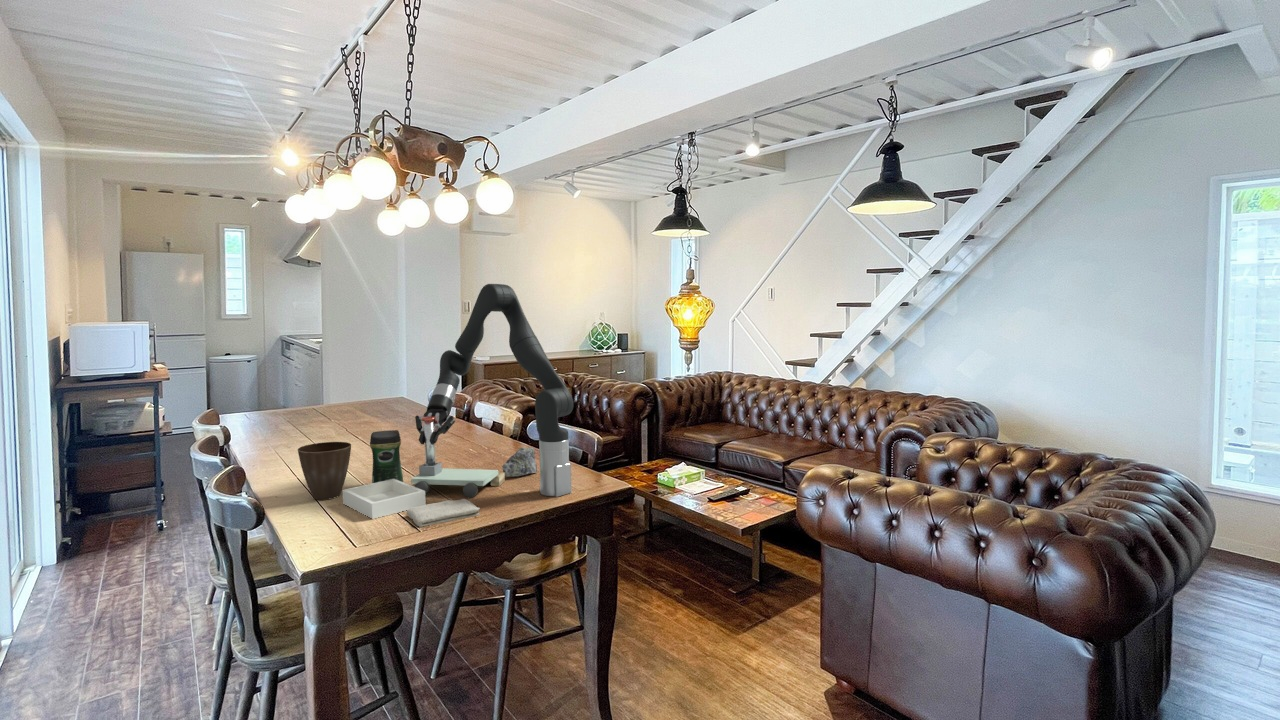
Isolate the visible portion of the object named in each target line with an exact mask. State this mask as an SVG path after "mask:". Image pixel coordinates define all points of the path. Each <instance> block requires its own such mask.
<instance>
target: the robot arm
mask: <svg viewBox="0 0 1280 720" xmlns="http://www.w3.org/2000/svg"><path fill="white" fill-rule="evenodd" d="M492 312H496V313H497V312H501V313H502V314H503V315H504V317H505V319H506V321H507V322H508V325H509V337H508V339H509V340H508V342H509V343H508V344H509V348H510V351H511V352H512V354H513V356H514V358H515V361H516V362H517V363H518V364H519V366H520V367H521V368H522V369H523V370H525V371H526V372H527V373H528V374H530V375H531V376H532V377H534V378H535V379H536V381H538V382H539V383H540V385H541V386H542V387H543V389H544V390H543V389H542V390H541V391H539V392H538V393H537V395H536V397H535V400H534V401H535V402H534V411H535V423H536V424H535V428H536V432H537V434H538V440H539V441H538V446H539V451H538V453H539V487H540V488H539V490H540V491H539V493H540V494H541V495H542V496H545V497H555V498H557V497H558V498H559V497H561V496H564V495H568V494H572V464H571V463H570V456H569V455H570V454H569V452H570V451H569V447H570V446H569V445H570V443H569V430H568V429H567V428H564V427H561V426H560V425H559V418H561V417H566V416H568V415H570V414H571V413H572V412H573V410H574V399H573V396H572V394H571V392H570V391H569V389H568V387H567V386H566V384H565V383H564V382H563V380H562V379H561V378H560V376H559V374H558V373H557V372H556V370H555V369H554V366H553V365H552V363H551V361H550V359H549V357H548V356H547V354H546V352H545V350H544V348H543V347H542V345H541V343H540V341H539V339H538V337H537V335H536V334H535V332H534V331H533V328H532V327H531V324H530V323H529V321H528V319H527V317H526V315H525V313H524V309H523V308H522V306H521V303H520V300H519V298H518V296H517V294H516V292H515V290H514V289H513V287H511V286H510V285H508V284H503V283H502V284H501V283H487V284H485V285H483V286H482V288H481V289H480V291H479V293H478V295H477V298H476V300H475V304H474V305H473V309H472V311H471V314H470V317H469V319H468V322H467V324H466V326H465V327H464V329H463V331H462V332H461V334H460V336H459V337H458V339H457V340H456V343H455V345H454V347H455V351H453V350H452V349H448V350H445V351H444V352H443V353H442V354H441V357H440V359H439V377H438V380H437V382H436V385H435V387H434V389H433V391H432V393H431V396H430V399H429V402H428V404H427V407H426V411H425V412H424V413H423V415H415V419H414V420H415V426H416V427H415V428H416V430H417V432H418V433H419V434H420V435H419V437H418V441H419V444H420V445H425V436H424V425H423V424H424V421H422V420H421V418H422V417H426V416H435V417H436V420H434V432H433V433H432V436H431V439H430V443H431V444H432V445H434V444H435V445H436V443H437V441H438V439H439V436H440V435H441V434H443V435H445V434H446V433H447V432H448V431H449V430H450V429H451V428H452V427H453V425H454V424H455V423H456V419H455V417H454V416H453V415H450V413H451V410H452V407H453V405H454V403H455V399H456V395H457V392H458V388H459V384H460V377H459V376H464V375H465V376H466V374H467V373H469V371H470V368H471V365H472V364H471V363H472V359H473V356H474V354H475V352H476V350H477V349H478V347H479V346H480V344H481V342H482V340H483V338H484V333H485V328H484V325H485V324H484V323H485V321H486V319H487V317H488V316H489V315H490V314H491V313H492ZM456 351H457V352H456Z"/></svg>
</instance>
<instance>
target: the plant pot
mask: <svg viewBox="0 0 1280 720" xmlns="http://www.w3.org/2000/svg"><path fill="white" fill-rule="evenodd" d="M351 450H352V444H351V443H350V442H345V441H326V442H325V441H324V442H315V443H310V444H306V445H303V446H299V448H297V454H298V458H299V463H300V466H301V470H302V473H303V476H304V479H305V482H306V485H307V487H308V488H309V489H308V490H309V492H310V494H311V495H312V497H313V499H314V498H315V499H314V500H316V499H327V500H330V499H329V498H333V499H335V498H334V497H336V498H338V497H340V496H341V492H343V488H344V484H345V482H346V481H345V480H346V477H347V473H348V470H349V465H350V459H351V452H352V451H351ZM337 496H338V497H337Z"/></svg>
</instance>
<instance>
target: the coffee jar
mask: <svg viewBox="0 0 1280 720" xmlns="http://www.w3.org/2000/svg"><path fill="white" fill-rule="evenodd" d="M370 434H371V435H370V438H369V439H370V440H369V447H370V449H371V453H372V474H371V476H372V477H371V484H372V483H377V482H381V481H386V480H390V479H396V480H399V481H401V482H404V476H403V469H402V463H401V457H400V456H401V455H400V454H401V453H400V447H401V444H402V439H401V436H400V432H399V430H397V429H395V430H391V429H389V430H379V431H373V432H371V433H370Z"/></svg>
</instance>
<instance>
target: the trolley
mask: <svg viewBox="0 0 1280 720" xmlns="http://www.w3.org/2000/svg"><path fill="white" fill-rule="evenodd" d="M442 466H443V463H442V462H435V463H433V464H426V462H425V463H423V464H421V465H419V466H418V468H419V469H418V472H419V473H418V474H417V475H415V476H413V477H411V478H410V485H411V484H414V487H416V488H419V489H421V490H424V491H425V495H427V494H428V493H429V492H430V485H436V486H437V485H439V486H440V485H441V486H442V485H443V486H463V488H462V493H463V495H464V496H465V497H466V498H468V497H469V499H471V498H473V497H475V496H476V495H477V494H478V492H479V489H478V487H484V486H486V485H491V480H492V479H493V478H495V477H496V476H497V475H498V472H499V470H498V469H479V468H478V469H477V468H476V469H475V468H447V467H446V468H445V467H442Z"/></svg>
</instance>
